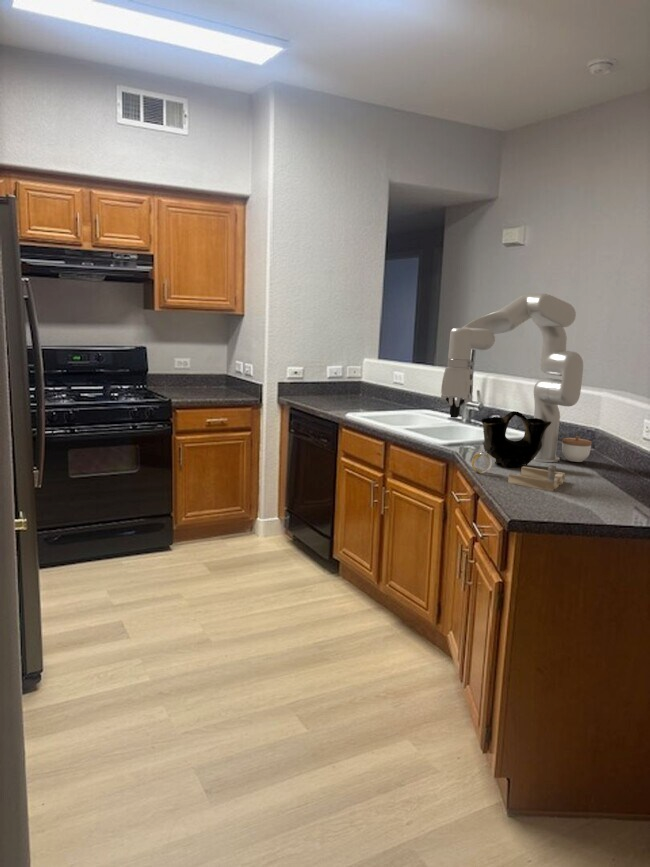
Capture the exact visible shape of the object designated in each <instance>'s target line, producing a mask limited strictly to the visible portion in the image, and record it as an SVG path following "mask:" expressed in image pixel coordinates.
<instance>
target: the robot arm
mask: <svg viewBox="0 0 650 867" xmlns="http://www.w3.org/2000/svg"><path fill="white" fill-rule="evenodd" d="M576 313H577V312H576V310H575V307H574V306H573V305H572V304H571V303H568V302H567V301H565V300H562V299H561V298H557V297H556V296H554V295H551V294H547V293H526V294H525V293H524V294H522V295H521V296H519V297H517V298H516V299H515V300H513V301H511V302H509V303H508V304H507V305H505V306H503V307H502V308H500V309H499V310H496V311H494V312H493V311H492V312H491V313H488V314H486V315H483V316H480V317H477V318H475V319H474V320H471V321H470V322H468V323H467V324H465V325H464V326H462V327H454V328H452V329H450V334H449V343H448V344H449V345H448V346H449V347H448V356H447V357H448V358H447V367H445V369H444V372H443V376H442V382H441V388H440V391H441V392H440V394H441V395H440V399H442V400H444V401H446V402H447V403H448V405H449V406H450V407H449V415H450V418H454V419H456V418H458V417H459V415H460V410H461V406H462V405H463V404H464V403H470V402H471V401H472V397H473V394H474V374H473V369H471V367H474V365H475V363H474V362H473V361H472V360H471V356H472V350H474V351H481V352H482V351H488V350H490V349H491V348H492V347H493V346H494V344H495V341H496V336H495V335H497V334H504V333H508V332H512V331H513V330H515V329H516V328H518V327H519V326H521V325H522V324H524V323H525V322H526V321H529V320H531V319H532V321H533V322H534V323H535V325H536V326H537V327H538V328H539V330H540V332H541V336H542V345H541V346H542V347H541V358H540V370H541V371H542V373H543V374H546V375H551V376H558V377H561V379H559V378H551V377H550V378H549V377H547V378H541V379H539V380H538V381H537V382H535V384H534V386H533V400H534V413H533V418H537V419H542V420H544V421H546V422H547V421H548V422H551V424H550V425H549V426H548V427H547V429H546V430H545V432H544V434H543V437H542V447H541V449H540V451H539V452H538V454H537V455H536V457H535V458H534V459H533V460H532V461H533V462H540V463H547V462H554V463H558V461H559V462H560V461H561V460H560V459H561V458H560V457H559V456H557V449H558V438H559V430H560V421H561V414H560V413H561V412H560V409H559V407H558V406H561V407H562V406H563V407H573V406H575V405H576V404H577V403H578V401H579V399H580V396H581V392H582V391H581V389H582V383H583V382H582V381H583V375H584V361H583V358H582V355H580V354H579V353H578V352H576V351H571V350H567V339H568V338H567V333H566V329H565V328H567V327H570V326H571V325H573V323H574V322H575V320H576V317H577V316H576Z"/></svg>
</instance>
